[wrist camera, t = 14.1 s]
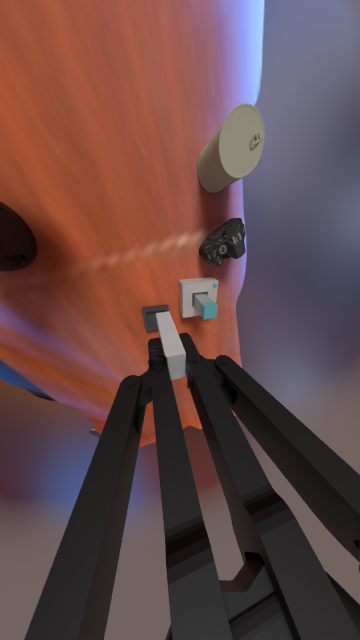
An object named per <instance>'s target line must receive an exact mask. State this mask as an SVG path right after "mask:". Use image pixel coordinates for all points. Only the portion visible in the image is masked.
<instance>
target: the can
mask: <svg viewBox="0 0 360 640" xmlns="http://www.w3.org/2000/svg"><path fill="white" fill-rule="evenodd" d="M264 137H265V132H264V124H263V120H262V117H261V115H260V113H259V111H258V110H257V109H256V108H255V107H254V106H253V105H251V104H248V103H243V104H240V105H238V106H236V107H235V108H233V109H232V110H231V111H230V113H229V114H228V115H227V117H226V119H225V121H224V122H223V124H222V125H221V126H220V128H219V129H218V131H217V132H216V133H215V135H214V136H213V138H212V139H211V140H210V142H209V143H208V144H207V145H206V146H205V147H204V148H203V150H202V152H201V154H200V157H199V160H198V177H199V180H200V183H201V185H202V186H203V188H204V189H205V190H206V191H208V192H210V193H217V192H219V191H221V190H222V189H224V188H225V187H227V186H228V185H230V184H232V183H234V182H235V181H237V180H239V179H241V178H244V177H246V176H247V175H249V174H250V173H251V172H252V171H253V169H254V168H255V166H256V165H257V163H258V161H259V159H260V157H261V154H262V150H263V146H264Z"/></svg>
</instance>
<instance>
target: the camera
mask: <svg viewBox="0 0 360 640" xmlns="http://www.w3.org/2000/svg"><path fill="white" fill-rule="evenodd" d="M245 233H246V231H245V227H244V224H243V222H242V219H241V218H232V219H230V220H229V221H227V222H226V223H224V224H223V225H222V226H221V227H219V228H218V229H217V230H216V231H214V232H213V233H212V234H210V235H209V236H208V237H207V238H206V240H205V241H204V242H203V243H202V245H201V246H200V249H199V252H200V255H201V256H202V258H203V259H204V260H205V261H207V262H208V263H210V264H213V265H215V266H221V265H222V263H223V258H229V257H232V258H235V259H237V258H239V257H241V256H242V255H243V254H244V253H245V245H244V237H245Z"/></svg>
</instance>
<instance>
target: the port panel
mask: <svg viewBox="0 0 360 640" xmlns="http://www.w3.org/2000/svg"><path fill="white" fill-rule="evenodd" d="M217 289H218V280H216V279H214V278H213V277H208V278H196V279H185V280H179V302H180V313H181V315H182V317H183V318H185V317H193V316H200V314H199V313H198V311H197V310H196V308H195V307H194V306H193V304H192V293H200V292H204V293H205V294H206V295H207V296H208V297H209V298H210V299H212V300H213V301H214V302H215V303H216V297H217Z"/></svg>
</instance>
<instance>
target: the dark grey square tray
mask: <svg viewBox="0 0 360 640" xmlns="http://www.w3.org/2000/svg"><path fill="white" fill-rule="evenodd" d="M168 311H169V309H168V305H159V306H150V307H142V312H143V317H144V323H145V328H146V331H152V330H158V327H157V319H156V313H161V312H168Z"/></svg>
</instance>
